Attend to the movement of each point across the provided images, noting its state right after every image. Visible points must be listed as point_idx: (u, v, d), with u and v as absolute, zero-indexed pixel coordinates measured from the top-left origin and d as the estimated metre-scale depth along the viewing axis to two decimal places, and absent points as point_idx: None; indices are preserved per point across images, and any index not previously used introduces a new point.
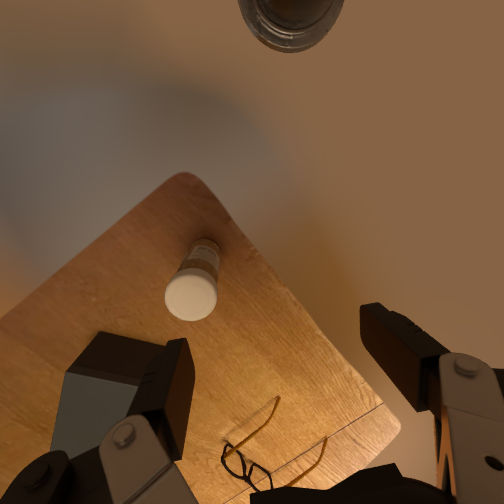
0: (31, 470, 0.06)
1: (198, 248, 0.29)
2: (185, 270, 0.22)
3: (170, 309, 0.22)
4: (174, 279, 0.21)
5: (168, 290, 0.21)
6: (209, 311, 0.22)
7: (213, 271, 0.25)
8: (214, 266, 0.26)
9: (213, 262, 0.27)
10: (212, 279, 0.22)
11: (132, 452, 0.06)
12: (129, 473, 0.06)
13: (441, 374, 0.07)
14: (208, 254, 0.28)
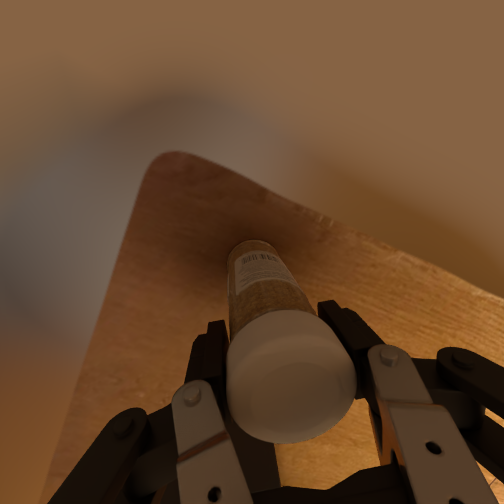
0: (120, 419, 0.07)
1: (242, 262, 0.16)
2: (247, 332, 0.09)
3: (260, 437, 0.09)
4: (234, 371, 0.08)
5: (234, 403, 0.08)
6: (350, 400, 0.08)
7: (298, 294, 0.11)
8: (291, 282, 0.13)
9: (284, 275, 0.13)
10: (316, 321, 0.09)
11: (196, 412, 0.07)
12: (205, 423, 0.07)
13: (372, 368, 0.07)
14: (265, 265, 0.14)
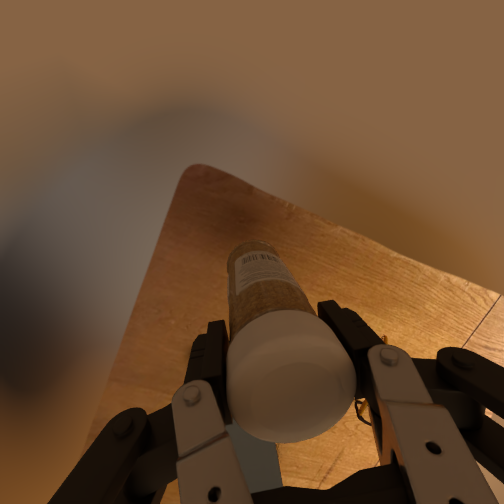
0: (120, 419, 0.07)
1: (242, 262, 0.16)
2: (247, 332, 0.09)
3: (260, 436, 0.09)
4: (234, 371, 0.08)
5: (234, 402, 0.08)
6: (350, 400, 0.09)
7: (297, 295, 0.11)
8: (291, 282, 0.13)
9: (284, 275, 0.13)
10: (316, 321, 0.09)
11: (196, 412, 0.07)
12: (205, 423, 0.07)
13: (372, 368, 0.07)
14: (266, 266, 0.14)
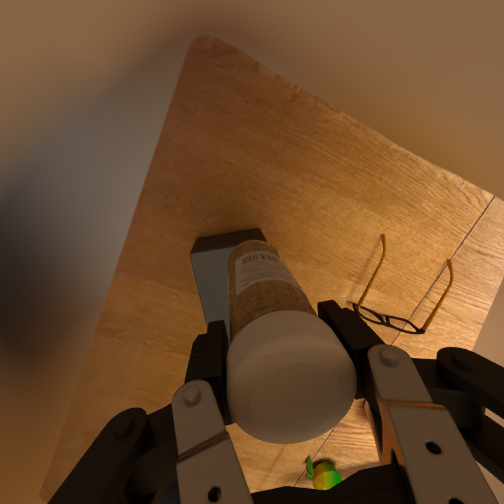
0: (120, 419, 0.07)
1: (243, 262, 0.16)
2: (247, 332, 0.09)
3: (260, 437, 0.09)
4: (234, 372, 0.08)
5: (234, 403, 0.08)
6: (351, 401, 0.08)
7: (298, 295, 0.11)
8: (291, 282, 0.13)
9: (284, 275, 0.13)
10: (317, 321, 0.09)
11: (196, 412, 0.07)
12: (205, 423, 0.07)
13: (372, 368, 0.07)
14: (266, 266, 0.14)
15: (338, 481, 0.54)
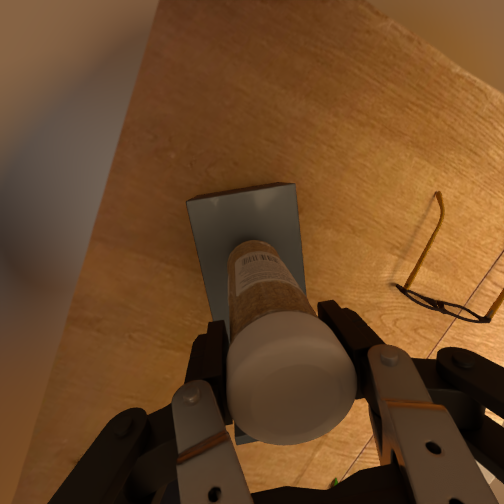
0: (120, 419, 0.07)
1: (243, 263, 0.16)
2: (247, 334, 0.09)
3: (260, 438, 0.09)
4: (234, 373, 0.08)
5: (234, 404, 0.08)
6: (351, 402, 0.08)
7: (298, 296, 0.11)
8: (291, 283, 0.13)
9: (284, 276, 0.13)
10: (317, 323, 0.09)
11: (196, 412, 0.07)
12: (205, 423, 0.07)
13: (372, 368, 0.07)
14: (266, 266, 0.14)
15: None
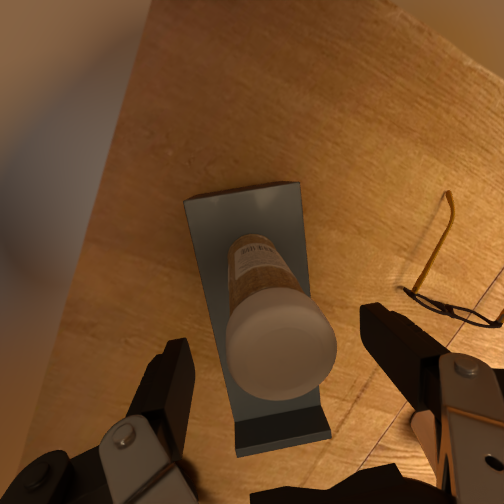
0: (31, 469, 0.06)
1: (241, 252, 0.17)
2: (244, 305, 0.10)
3: (255, 393, 0.10)
4: (233, 336, 0.09)
5: (233, 362, 0.10)
6: (331, 362, 0.10)
7: (289, 278, 0.13)
8: (284, 268, 0.14)
9: (278, 262, 0.15)
10: (303, 296, 0.10)
11: (132, 452, 0.06)
12: (129, 473, 0.06)
13: (441, 374, 0.07)
14: (262, 255, 0.16)
15: None
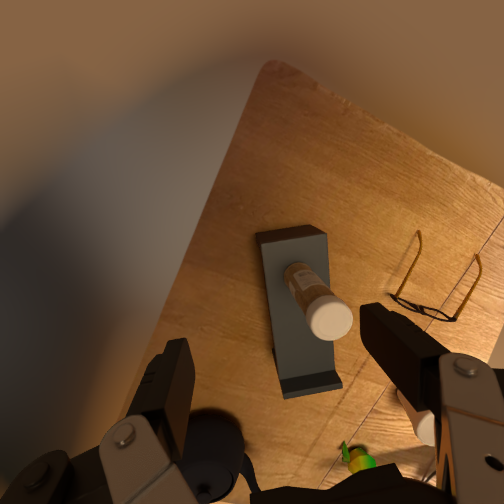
0: (31, 470, 0.06)
1: (299, 275, 0.33)
2: (316, 302, 0.26)
3: (320, 337, 0.26)
4: (314, 313, 0.25)
5: (313, 323, 0.25)
6: (350, 325, 0.26)
7: (329, 290, 0.29)
8: (325, 285, 0.30)
9: (321, 282, 0.30)
10: (339, 299, 0.26)
11: (132, 452, 0.06)
12: (129, 473, 0.06)
13: (441, 374, 0.07)
14: (312, 278, 0.31)
15: (373, 465, 0.57)
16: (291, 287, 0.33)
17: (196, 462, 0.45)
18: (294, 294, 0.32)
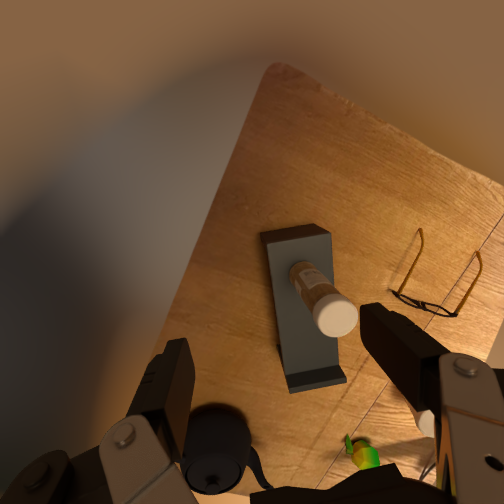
0: (31, 469, 0.06)
1: (305, 274, 0.34)
2: (322, 300, 0.27)
3: (327, 333, 0.27)
4: (320, 311, 0.26)
5: (320, 321, 0.26)
6: (356, 322, 0.27)
7: (335, 289, 0.30)
8: (330, 284, 0.31)
9: (327, 281, 0.31)
10: (344, 297, 0.27)
11: (132, 452, 0.06)
12: (129, 473, 0.06)
13: (441, 374, 0.07)
14: (318, 276, 0.32)
15: (376, 456, 0.59)
16: (297, 286, 0.34)
17: (205, 455, 0.46)
18: (300, 292, 0.33)
